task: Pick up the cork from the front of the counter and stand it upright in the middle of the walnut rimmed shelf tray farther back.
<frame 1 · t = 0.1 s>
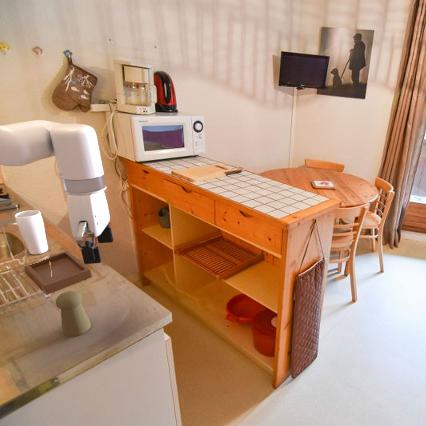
hand: (100, 252, 75), 23 cm above the countertop, tool pointing down, fingers open, 9 cm apart
shelf tray: (58, 274, 103), on the countertop
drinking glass: (39, 252, 115), on the countertop
cork: (77, 329, 83), on the countertop
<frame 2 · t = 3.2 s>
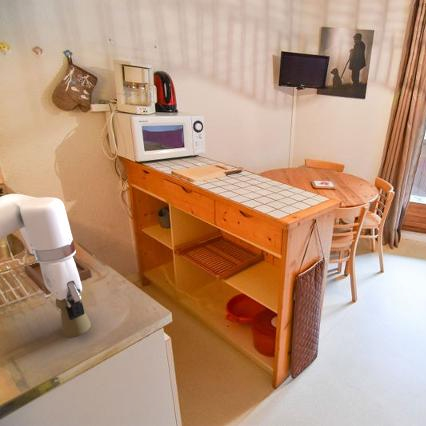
hand: (72, 310, 81), 6 cm above the countertop, tool pointing down, fingers closed on cork, 5 cm apart
cork: (77, 329, 83), on the countertop, touching gripper
everything else where it was.
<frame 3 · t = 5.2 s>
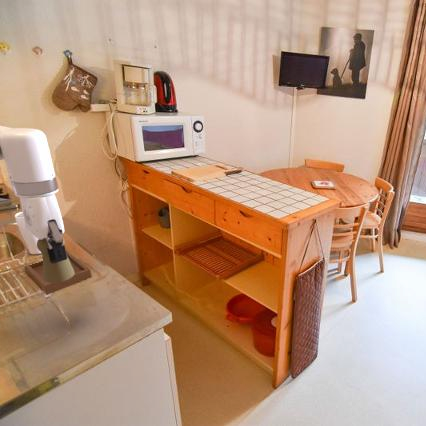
hand: (54, 255, 77), 21 cm above the countertop, tool pointing down, fingers closed on cork, 5 cm apart
cork: (60, 276, 79), point 15 cm above the countertop, touching gripper
everything else where it was.
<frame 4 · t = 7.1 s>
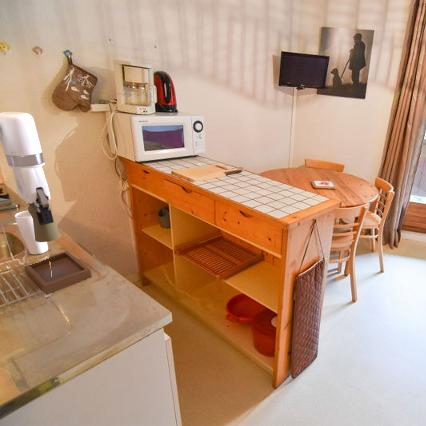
hand: (43, 219, 93), 21 cm above the countertop, tool pointing down, fingers closed on cork, 5 cm apart
cork: (48, 238, 95), point 15 cm above the countertop, touching gripper
everything else where it was.
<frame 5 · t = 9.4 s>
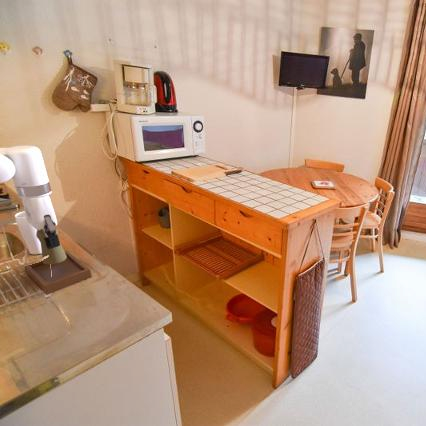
hand: (50, 243, 99), 12 cm above the countertop, tool pointing down, fingers closed on cork, 5 cm apart
cork: (55, 259, 101), point 5 cm above the countertop, touching gripper
everything else where it was.
when the fingers open (7 cm above the countertop, at t = 10.9 s): cork stays where it is, resting on shelf tray.
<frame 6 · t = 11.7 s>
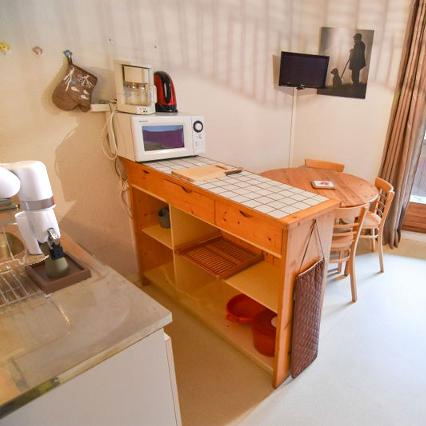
hand: (52, 253, 100), 8 cm above the countertop, tool pointing down, fingers open, 9 cm apart
cork: (58, 272, 103), point 1 cm above the countertop, touching shelf tray
everything else where it was.
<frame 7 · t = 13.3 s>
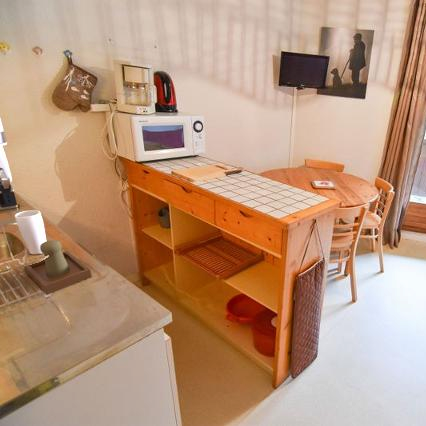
hand: (3, 201, 87), 28 cm above the countertop, tool pointing down, fingers open, 9 cm apart
nothing on the countertop moved.
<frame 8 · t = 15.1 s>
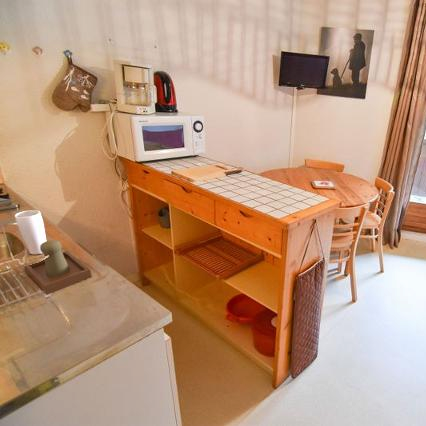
nothing on the countertop moved.
at the end: cork inside the target area in the shelf tray (0.0 cm from its centre), point 0.8 cm above the shelf tray's base; cork tilted 0° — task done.
